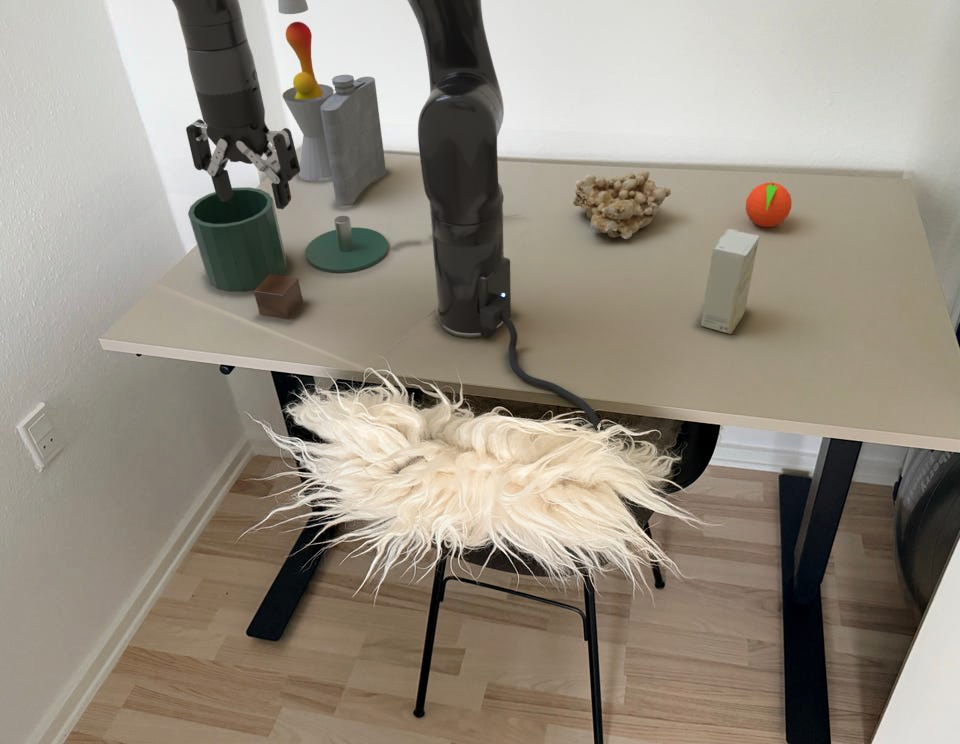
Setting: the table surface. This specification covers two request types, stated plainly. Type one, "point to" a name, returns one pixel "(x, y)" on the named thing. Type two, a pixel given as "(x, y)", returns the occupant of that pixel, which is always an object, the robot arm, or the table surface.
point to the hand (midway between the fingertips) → (255, 202)
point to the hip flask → (353, 136)
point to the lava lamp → (306, 98)
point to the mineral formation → (620, 202)
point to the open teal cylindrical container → (238, 239)
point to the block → (278, 296)
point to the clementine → (768, 204)
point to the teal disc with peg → (346, 248)
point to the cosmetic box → (729, 280)
